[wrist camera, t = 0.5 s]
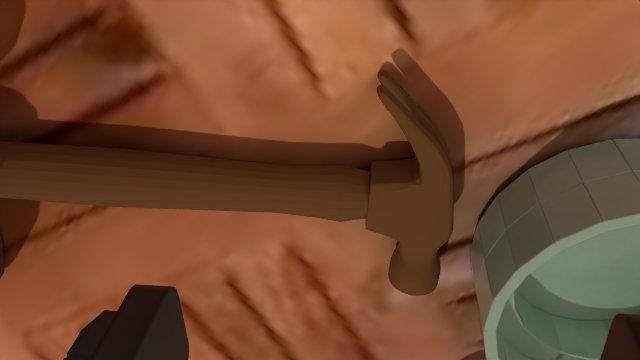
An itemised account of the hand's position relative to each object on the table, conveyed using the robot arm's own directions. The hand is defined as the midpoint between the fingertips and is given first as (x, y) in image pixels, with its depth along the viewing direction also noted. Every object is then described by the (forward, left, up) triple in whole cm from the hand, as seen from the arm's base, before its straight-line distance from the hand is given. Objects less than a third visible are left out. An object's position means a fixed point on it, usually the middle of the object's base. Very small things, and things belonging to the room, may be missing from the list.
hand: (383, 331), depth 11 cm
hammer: (+7, -12, -18) cm, 22 cm away
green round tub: (+13, +11, -18) cm, 25 cm away
